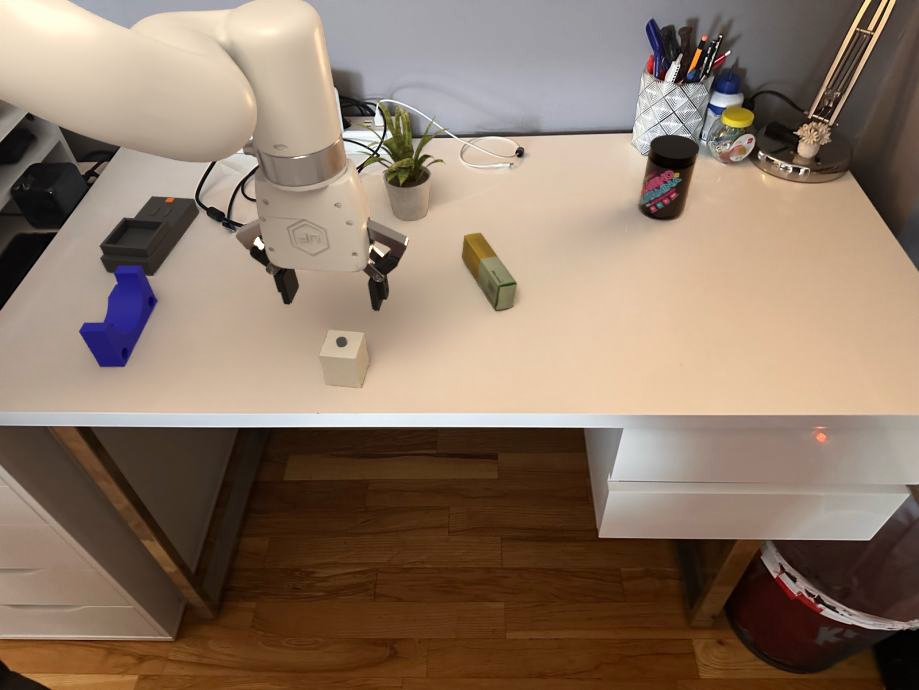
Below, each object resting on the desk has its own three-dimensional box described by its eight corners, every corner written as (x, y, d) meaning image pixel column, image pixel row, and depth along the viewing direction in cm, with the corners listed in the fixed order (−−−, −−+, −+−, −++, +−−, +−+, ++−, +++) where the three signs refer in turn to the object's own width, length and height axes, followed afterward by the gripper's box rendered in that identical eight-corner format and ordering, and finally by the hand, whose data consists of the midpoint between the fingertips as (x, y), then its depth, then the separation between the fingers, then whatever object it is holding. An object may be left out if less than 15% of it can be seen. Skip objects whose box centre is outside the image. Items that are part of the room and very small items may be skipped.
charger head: (326, 384, 78) (317, 351, 74) (336, 359, 81) (328, 325, 77) (361, 388, 78) (354, 354, 74) (369, 362, 81) (363, 328, 77)
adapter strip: (106, 272, 94) (95, 249, 92) (157, 209, 105) (148, 187, 102) (153, 275, 94) (142, 252, 91) (199, 212, 104) (191, 189, 102)
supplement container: (631, 199, 104) (642, 137, 96) (673, 194, 104) (687, 132, 97) (647, 224, 99) (660, 161, 91) (691, 219, 100) (707, 155, 92)
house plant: (340, 204, 105) (322, 104, 93) (414, 174, 110) (405, 76, 99) (390, 248, 97) (377, 144, 85) (466, 213, 102) (464, 111, 91)
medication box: (514, 307, 87) (519, 283, 84) (495, 312, 86) (499, 288, 83) (477, 254, 95) (480, 230, 92) (460, 257, 94) (462, 233, 91)
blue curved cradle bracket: (124, 301, 90) (106, 266, 86) (157, 301, 90) (141, 265, 86) (87, 367, 82) (65, 331, 77) (124, 366, 81) (104, 331, 77)
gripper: (193, 173, 58) (245, 317, 70) (388, 182, 56) (407, 329, 68) (226, 130, 63) (270, 271, 75) (406, 137, 61) (421, 281, 73)
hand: (335, 299), depth 72 cm, fingers open, 9 cm apart
